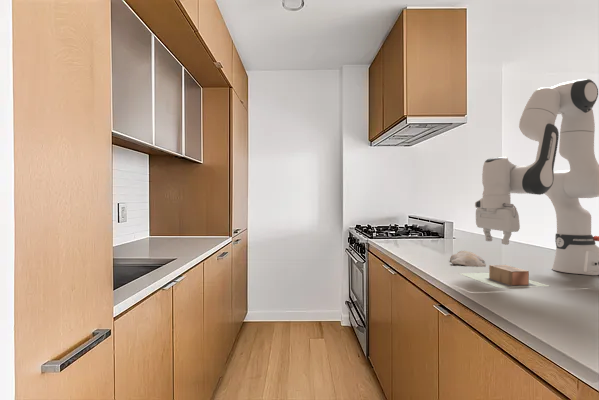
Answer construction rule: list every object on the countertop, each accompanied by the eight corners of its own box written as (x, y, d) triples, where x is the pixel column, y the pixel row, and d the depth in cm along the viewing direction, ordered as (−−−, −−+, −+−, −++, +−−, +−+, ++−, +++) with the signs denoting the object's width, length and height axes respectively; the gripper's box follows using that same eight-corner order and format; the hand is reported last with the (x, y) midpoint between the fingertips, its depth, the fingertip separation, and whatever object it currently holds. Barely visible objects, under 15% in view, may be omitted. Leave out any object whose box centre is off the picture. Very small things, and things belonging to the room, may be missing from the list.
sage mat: (503, 273, 155) (503, 272, 155) (550, 287, 131) (550, 285, 131) (458, 274, 153) (458, 273, 153) (498, 289, 129) (498, 287, 129)
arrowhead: (450, 255, 173) (449, 245, 201) (450, 267, 173) (449, 255, 201) (487, 258, 168) (481, 247, 196) (487, 270, 168) (481, 257, 197)
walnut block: (505, 264, 144) (529, 271, 132) (505, 277, 145) (529, 285, 132) (489, 265, 144) (511, 271, 132) (489, 278, 144) (511, 285, 132)
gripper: (524, 203, 135) (525, 246, 135) (487, 202, 155) (488, 239, 155) (506, 204, 134) (507, 246, 134) (472, 202, 154) (472, 239, 154)
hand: (496, 242), depth 145 cm, fingers open, 8 cm apart
